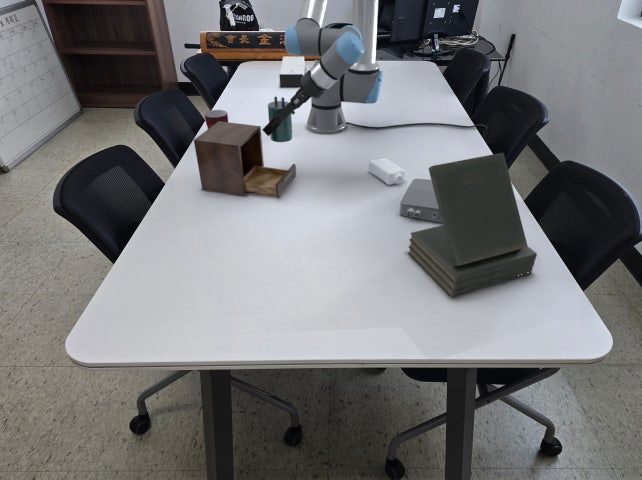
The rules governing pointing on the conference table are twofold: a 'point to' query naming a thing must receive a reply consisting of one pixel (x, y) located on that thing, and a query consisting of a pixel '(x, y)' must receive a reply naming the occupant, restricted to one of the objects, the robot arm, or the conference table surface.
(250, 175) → the drawer
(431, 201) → the electronic device
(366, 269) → the conference table surface
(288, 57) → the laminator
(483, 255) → the stack of books
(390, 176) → the white bottle
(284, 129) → the pen pot
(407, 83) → the conference table surface
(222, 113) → the mug
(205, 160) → the open wooden box
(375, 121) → the conference table surface
